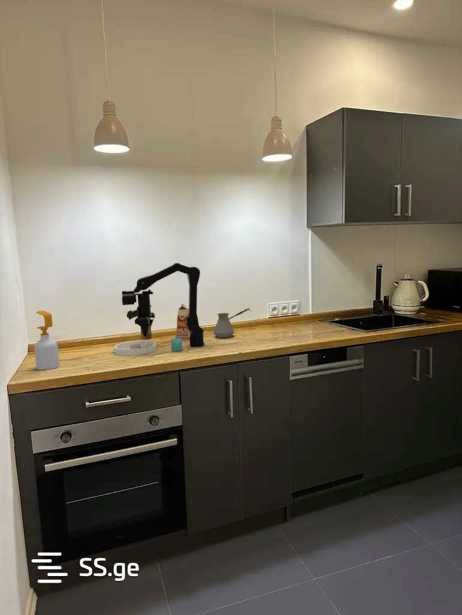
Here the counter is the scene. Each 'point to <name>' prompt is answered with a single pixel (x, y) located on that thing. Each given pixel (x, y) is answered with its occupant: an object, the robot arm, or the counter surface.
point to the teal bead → (176, 344)
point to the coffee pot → (225, 325)
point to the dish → (135, 348)
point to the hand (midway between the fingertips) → (146, 335)
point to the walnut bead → (147, 334)
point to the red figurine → (182, 324)
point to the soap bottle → (46, 346)
